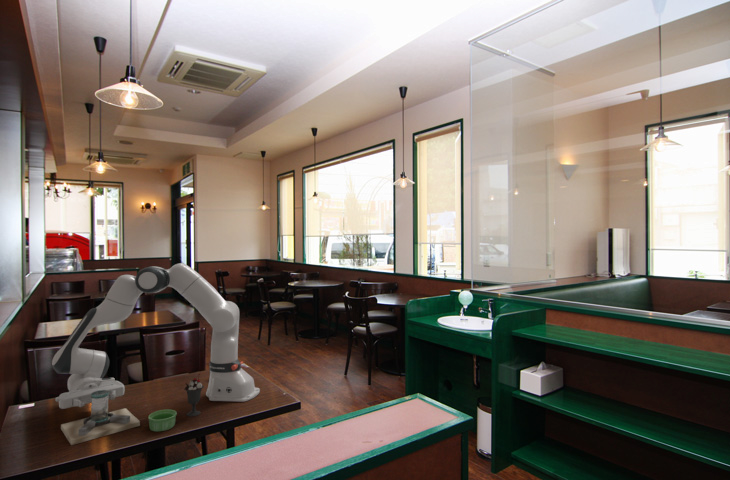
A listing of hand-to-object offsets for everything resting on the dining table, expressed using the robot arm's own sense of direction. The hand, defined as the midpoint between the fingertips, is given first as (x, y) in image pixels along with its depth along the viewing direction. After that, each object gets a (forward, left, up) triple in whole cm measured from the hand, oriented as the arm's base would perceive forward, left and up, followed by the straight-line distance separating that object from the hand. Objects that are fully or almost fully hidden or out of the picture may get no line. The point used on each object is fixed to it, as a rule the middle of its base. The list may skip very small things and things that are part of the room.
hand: (98, 401), depth 144 cm
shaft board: (-3, +2, -8) cm, 9 cm away
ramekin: (-23, -4, -8) cm, 25 cm away
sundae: (-27, -16, -8) cm, 33 cm away
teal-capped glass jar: (-2, +1, -7) cm, 7 cm away
